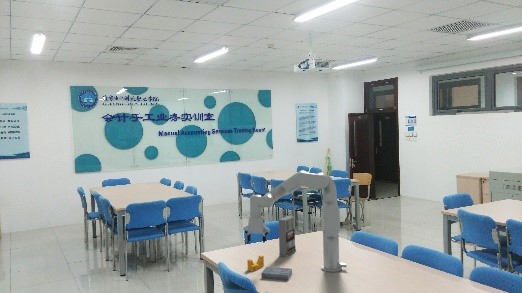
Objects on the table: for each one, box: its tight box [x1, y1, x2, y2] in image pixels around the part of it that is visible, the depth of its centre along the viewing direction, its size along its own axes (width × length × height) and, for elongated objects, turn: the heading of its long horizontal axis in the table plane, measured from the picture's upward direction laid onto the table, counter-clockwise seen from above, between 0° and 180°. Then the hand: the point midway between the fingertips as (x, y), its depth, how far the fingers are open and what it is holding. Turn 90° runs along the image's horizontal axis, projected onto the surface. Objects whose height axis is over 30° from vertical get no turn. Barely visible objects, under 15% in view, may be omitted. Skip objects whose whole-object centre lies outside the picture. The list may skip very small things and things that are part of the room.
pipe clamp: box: [246, 254, 265, 272], centre depth 256 cm, size 12×4×6 cm, turn 136°
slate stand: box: [261, 266, 293, 281], centre depth 241 cm, size 16×11×3 cm
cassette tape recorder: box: [278, 215, 297, 257], centre depth 283 cm, size 14×6×25 cm, turn 148°
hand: (256, 241), depth 255 cm, fingers open, 9 cm apart
